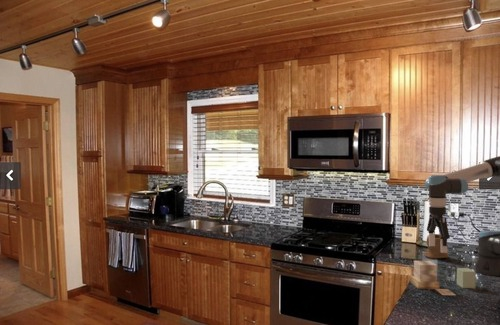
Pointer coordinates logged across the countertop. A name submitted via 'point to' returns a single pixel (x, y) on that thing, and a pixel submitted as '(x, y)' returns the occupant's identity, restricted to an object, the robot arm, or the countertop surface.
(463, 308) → the countertop surface
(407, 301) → the countertop surface
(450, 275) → the countertop surface
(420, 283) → the base
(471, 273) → the sage brick
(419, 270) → the birch brick
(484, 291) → the countertop surface
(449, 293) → the page
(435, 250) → the brown rounded piece
